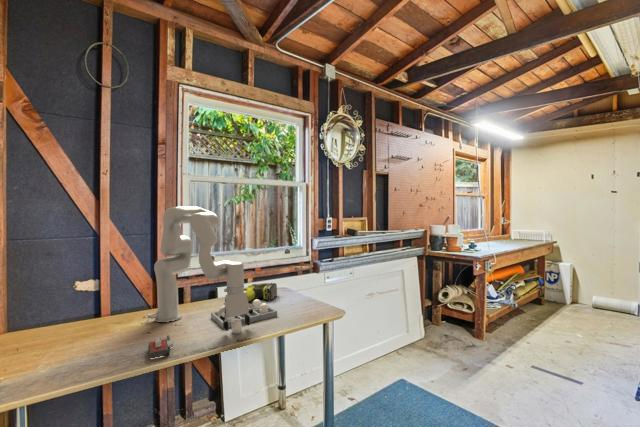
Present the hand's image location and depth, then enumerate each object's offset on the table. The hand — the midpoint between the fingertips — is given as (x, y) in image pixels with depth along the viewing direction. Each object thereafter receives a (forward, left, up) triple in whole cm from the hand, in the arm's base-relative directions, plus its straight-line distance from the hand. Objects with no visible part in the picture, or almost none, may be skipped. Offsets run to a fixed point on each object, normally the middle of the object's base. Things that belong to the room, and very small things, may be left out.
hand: (236, 327), depth 143 cm
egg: (0, 0, -2) cm, 2 cm away
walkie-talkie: (-31, +2, -3) cm, 31 cm away
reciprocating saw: (+26, +40, -3) cm, 48 cm away
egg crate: (+10, +16, -2) cm, 19 cm away
